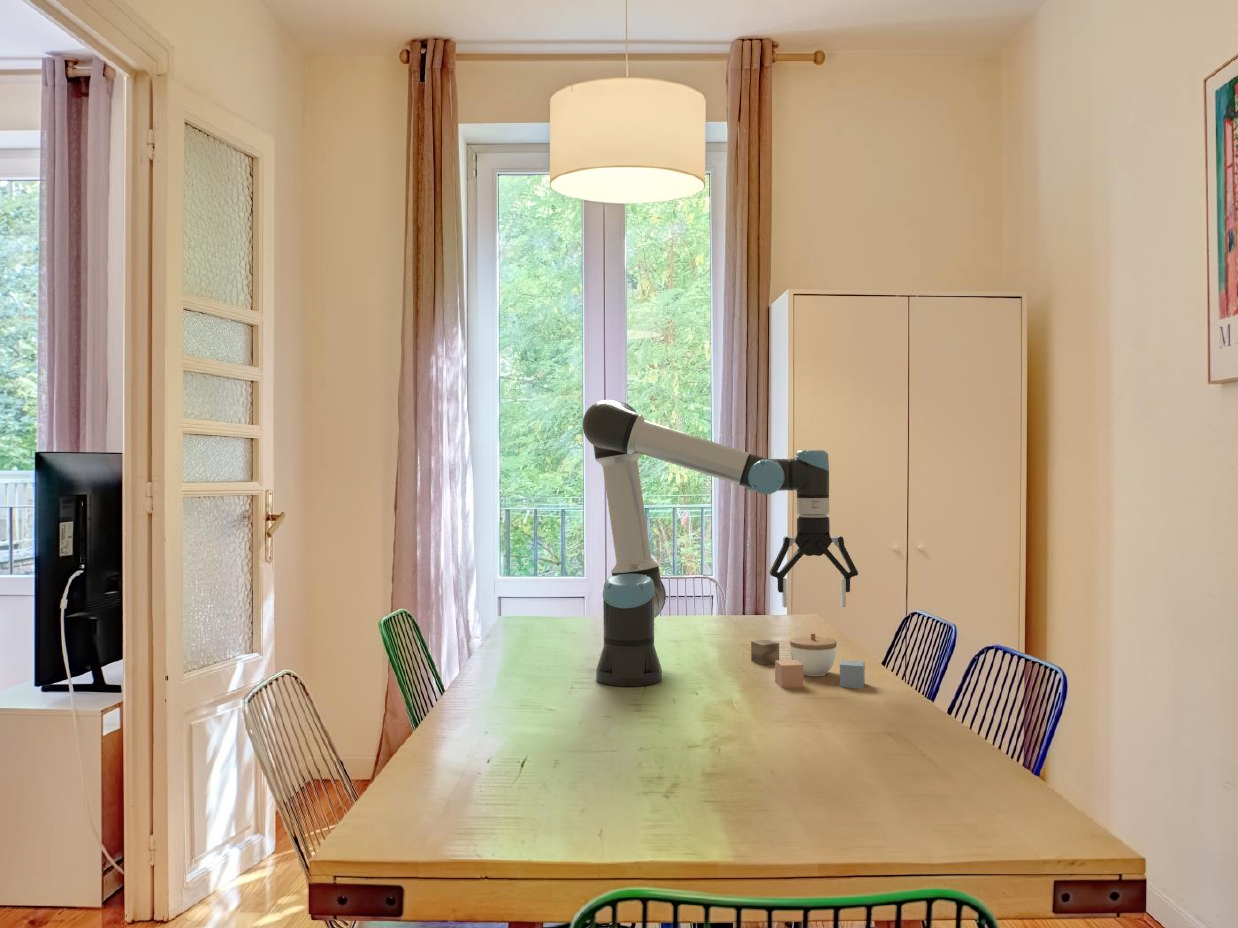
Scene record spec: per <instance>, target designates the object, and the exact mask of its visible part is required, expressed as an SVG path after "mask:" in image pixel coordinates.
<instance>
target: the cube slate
mask: <svg viewBox="0 0 1238 928" xmlns="http://www.w3.org/2000/svg"><path fill="white" fill-rule="evenodd" d="M865 663H866V661H864V660H861V661H860V660H848V659H847V660H846V659H842V660H841V661H840V663H839V687H840V688H851V689H864V686H865V684H866V681H865V679H866V678H865V673H866V672H865V670H866V669H865V668H866V667H865Z"/></svg>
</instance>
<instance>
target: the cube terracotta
mask: <svg viewBox="0 0 1238 928" xmlns="http://www.w3.org/2000/svg"><path fill="white" fill-rule="evenodd" d="M774 683H775V684H776V685H778V686H779V687H780V688H786V689H787V688H804V675H803V664H802V663H800V662H799V661H797V660H792V659H786V660H784V659H783V660H779V661H775V664H774Z"/></svg>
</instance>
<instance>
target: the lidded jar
mask: <svg viewBox="0 0 1238 928" xmlns="http://www.w3.org/2000/svg"><path fill="white" fill-rule="evenodd" d="M789 645H790V657H791V660H797V661H799V662H800V663H802V664H803V676H805V677H824V676H826V675H827V673H828V672H830V670H831V669H832V668H833V666H834V665H835V661H836V657H837V656H836V655H837V645H838V643H837V640H836V639H833V638H830V637H823V636H816V633H814V632H813V633H810V636H809V635H808V636H806V635H804V636H803V635H802V636H796V637H792V638H791V639H790V640H789Z"/></svg>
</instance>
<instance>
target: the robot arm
mask: <svg viewBox="0 0 1238 928" xmlns="http://www.w3.org/2000/svg"><path fill="white" fill-rule="evenodd" d="M582 418H583V419H582V430H583V433H584V434H583V435H584V436H585V439H586V440H587V441H588V442H589V443H590V444H591V445H592V446H593V451H594V452H593V453H594V458H595V461H596V462H597V463H599V464H600V465H601V466H602V470H603V478H604V484H605V491H606V498H607V499H606V500H607V506H608V513H609V519H610V521H609V522H610V526H611V527H610V528H611V534H612V539H613V548H614V555H615V562H616V563H615V565H614V567H613V568H612V569H611V571H610V572H611V576H610V577H608V578H607V579H606V580H605V581H604V583H603V590H602V598H603V599H602V601H603V607H602V608H603V647H602V650H601V653H600V655H599V656H600V657H599V660H598V663H597V667H596V670H595V672H596V673H595V674H596V675H595V679H596V681H597V682H599V683H601V684H604V685H609V686H615V687H617V686H618V687H641V686H642V687H643V686H650V685H653V684H657V683H660V682H661V681H662V680H663V669H662V668H663V667H662V666H661V662H660V660H659V656H658V652H657V650H656V647H655V618H657V617H658V616H659V615H660V613H661V612H662V611H663V608H664V606H665V604H666V600H667V591H666V588H665V585H664V583H663V581H662V580H661V578H662V577H661V572H660V566H659V563H658V562H656V561H655V560H654V559H653V558H652V554H651V547H650V540H649V534H648V533H649V532H648V527H647V526H648V525H647V520H646V519H647V518H646V512H645V505H644V498H643V492H642V483H641V478H640V476H641V475H640V470H639V464H638V463H639V462H638V461H639V459H640V457H641V456H642V455H645V456H647V457H650V458H654V459H657V460H660V461H664V462H667V463H669V464H672V465H675V466H679V467H682V468H685V469H689V470H691V471H694V472H698V473H701V474H703V475H707V476H711V477H713V478H717V479H720V480H723V481H724V482H725V481H726V482H728V483H732V484H735V485H739V486H741V487H744V488H746V490H747V491H755V492H756V493H759V494H763V495H771V494H774V493H776V492H779V491H780V492H781V491H792V492H793V491H796V515H799V516H797V518H796V536H795V537H790V536H786V535H785V536H784V537H783V539H782V546H781V548H780V550H779V553H778V554H777V556H776V559H775V560H774V562H773V564H772V566H771V567H770V570H769V575H770V576H772V577H774V578H776V579H777V580H776V581H777V592H778V593H781V594H782V595H781V598H782V599H781V601H782V602H781V603H782V607H783V608H788V584H787V583H788V580H787V578H785V576H787V574H788V573H789V572H790V570H791V569H792V568H793V567H794V566H795V565H796V564H797V562H798V561H799V560H800V559H801V558H802V557H803V556H806V557H812V556H817V557H820V556H823V555H824V556H825V557H826V558H827V559H828V560H829V561H830V562H831V563H832V565H834V567H835V568H836V569H837V570H838V571H839V572H840V574H841V575H842V576H843V577H840V578H839V579H840V582H839V586H840V588H839V589H840V593H839V594H840V598H839V599H840V602H839V603H840V607H842V608H847V603H846V602H847V600H846V599H847V595H846V593H850V591H851V578H853V577H856V576H857V577H858V576H859V571H858V569H857V568H856V566H855V564H854V562H853V560H852V558H851V556H850V554H849V552H848V551H847V549H846V546H845V540H844V537H843V536H842V535H837V536H835V537H833V536H832V537H831V535H830V534H831V533H830V529H831V528H830V518H829V516H828V515H829V514H830V464H829V463H830V462H829V460H830V459H829V453H828V452H827V451H826V450H823V449H819V450H817V449H816V450H815V449H814V450H813V449H810V450H809V449H808V450H806V449H805V450H803V449H802V450H800V449H799V450H797V452H796V453H795V457H794V458H766V457H762V456H759V455H756V454H751V453H749V452H747V451H743V450H741V449H738V448H733V447H731V446H729V445H724V444H721V443H717V442H715V441H711V440H708V439H706V438H703V437H699V436H696V435H693V434H689V433H687V432H684V431H683V432H682V431H680V430H678V429H674V428H671V427H667V426H664V425H661V424H657V423H655V422H652V421H648V420H646V419H645V418H644V416H643V414H640V413H638V412H637V411H636V409H634V408H633V407H632V406H631V405H629V404H628V403H625V402H623V401H616V400H611V399H606V400H605V399H603V400H599V401H597V402H595V403H594V404H592V405H591V406H590V407H589V408H588V409H587V410H586V411H585V413H584V416H583V417H582ZM794 543H795V544H796V546H797V547H798V548H797V550H796V551H795V552H794V553H793V555H792V556H791V557H790V559H788V561H787V562H786V563H785V564H784V566H783V567H781V565H782V563H783V562H784V559H785V557H786V556H787V552H788V551H789V549H790V547H792V546H793V544H794ZM832 543H834V546H836V547H837V548H838V550H839V552H840V553H841V556H842V558H843V560H844V562H845V564H846V565H847V567H848V569H849V571H847V569H846V568H845V567H844V566H843V565H842V564H841V563H840V561H839V560H838V559H837V558H836V557H835V555H834V554H833V553H832V552H831V550H829V549H828V548H829V547H830V546H831V544H832ZM780 567H781V569H780ZM779 569H780V570H779ZM778 571H779V572H778Z"/></svg>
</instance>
